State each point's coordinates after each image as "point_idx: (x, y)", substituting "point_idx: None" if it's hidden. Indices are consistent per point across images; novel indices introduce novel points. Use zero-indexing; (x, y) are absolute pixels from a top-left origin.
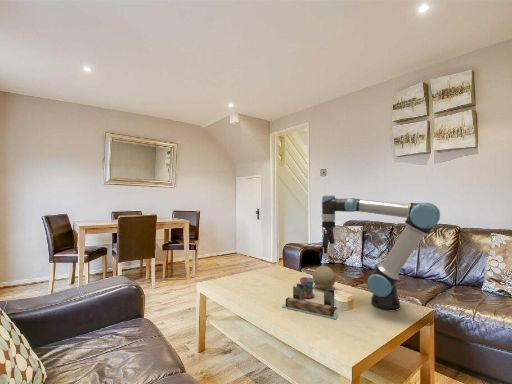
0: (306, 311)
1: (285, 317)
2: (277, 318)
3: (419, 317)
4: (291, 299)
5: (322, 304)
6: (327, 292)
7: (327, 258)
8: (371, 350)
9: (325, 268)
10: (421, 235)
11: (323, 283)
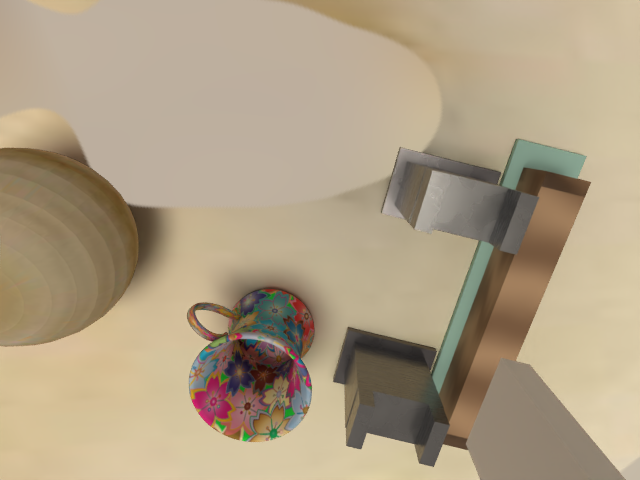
0: None
1: (585, 407)
2: (600, 438)
3: None
4: (473, 423)
5: (523, 244)
6: (512, 228)
7: (533, 381)
8: None
9: None
10: None
11: (135, 245)
